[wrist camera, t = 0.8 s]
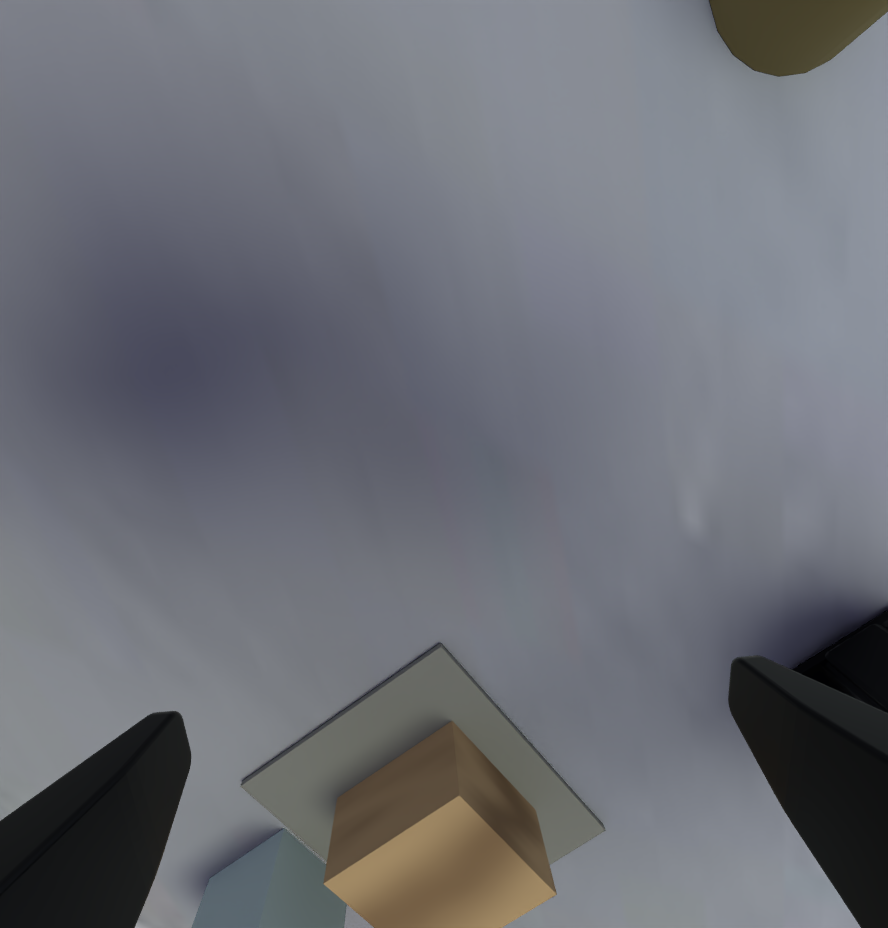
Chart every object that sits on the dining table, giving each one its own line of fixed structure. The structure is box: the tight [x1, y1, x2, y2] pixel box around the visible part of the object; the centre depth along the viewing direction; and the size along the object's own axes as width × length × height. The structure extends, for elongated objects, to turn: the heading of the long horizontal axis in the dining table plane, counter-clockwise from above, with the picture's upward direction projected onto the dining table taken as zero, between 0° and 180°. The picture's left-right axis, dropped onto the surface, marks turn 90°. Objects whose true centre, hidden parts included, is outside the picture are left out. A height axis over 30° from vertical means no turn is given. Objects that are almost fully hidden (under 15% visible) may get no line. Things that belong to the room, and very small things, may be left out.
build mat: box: [241, 643, 606, 865], centre depth 26 cm, size 14×12×1 cm
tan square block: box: [323, 721, 557, 928], centre depth 24 cm, size 7×7×4 cm
